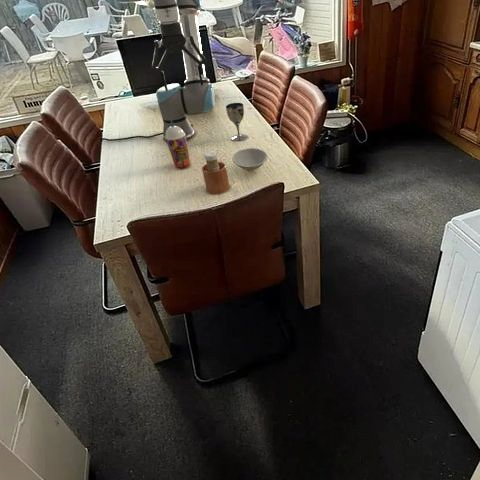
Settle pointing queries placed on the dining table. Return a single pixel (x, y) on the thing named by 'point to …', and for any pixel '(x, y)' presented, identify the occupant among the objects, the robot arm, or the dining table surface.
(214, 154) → the sprinkles bottle
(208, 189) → the tumbler
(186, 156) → the smoothie
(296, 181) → the dining table surface
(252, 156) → the dish
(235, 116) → the wine glass
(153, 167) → the dining table surface
